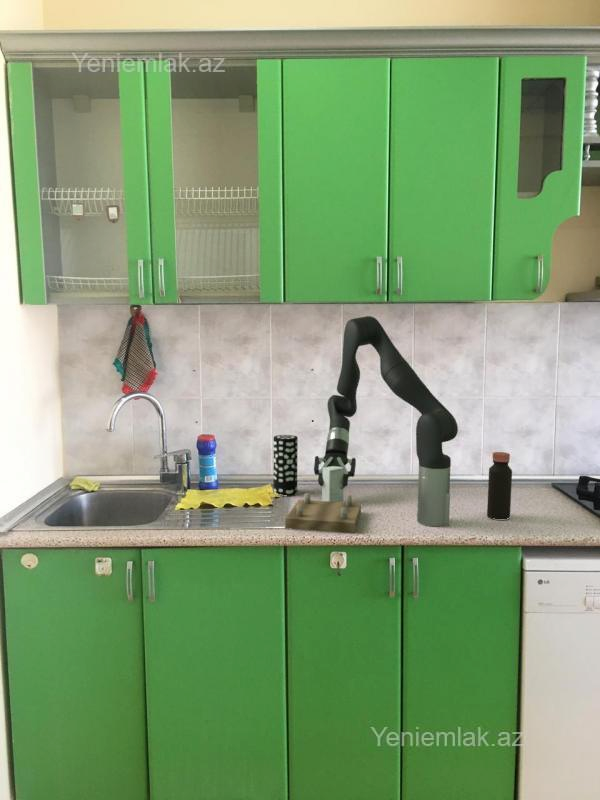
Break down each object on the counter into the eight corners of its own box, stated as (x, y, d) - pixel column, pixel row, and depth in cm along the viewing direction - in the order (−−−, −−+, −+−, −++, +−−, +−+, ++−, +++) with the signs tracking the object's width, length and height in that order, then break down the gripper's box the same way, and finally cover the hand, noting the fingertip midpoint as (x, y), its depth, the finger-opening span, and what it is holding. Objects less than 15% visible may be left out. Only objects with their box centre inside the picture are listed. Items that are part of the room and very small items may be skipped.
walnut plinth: (360, 512, 193) (361, 493, 193) (354, 533, 174) (354, 512, 173) (298, 508, 197) (298, 490, 196) (285, 528, 178) (285, 508, 177)
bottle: (488, 512, 194) (491, 450, 192) (511, 515, 191) (514, 452, 189) (485, 518, 188) (487, 454, 186) (508, 521, 185) (511, 456, 183)
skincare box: (329, 506, 199) (329, 470, 198) (321, 503, 203) (321, 467, 202) (344, 503, 203) (344, 467, 201) (336, 500, 207) (336, 465, 205)
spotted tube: (269, 495, 213) (269, 438, 210) (279, 489, 221) (279, 434, 218) (291, 497, 210) (292, 439, 207) (300, 491, 218) (301, 435, 215)
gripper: (315, 436, 209) (309, 478, 199) (357, 438, 207) (353, 480, 197) (318, 449, 215) (312, 490, 205) (359, 450, 212) (355, 492, 202)
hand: (332, 485), depth 201 cm, fingers closed on skincare box, 7 cm apart
